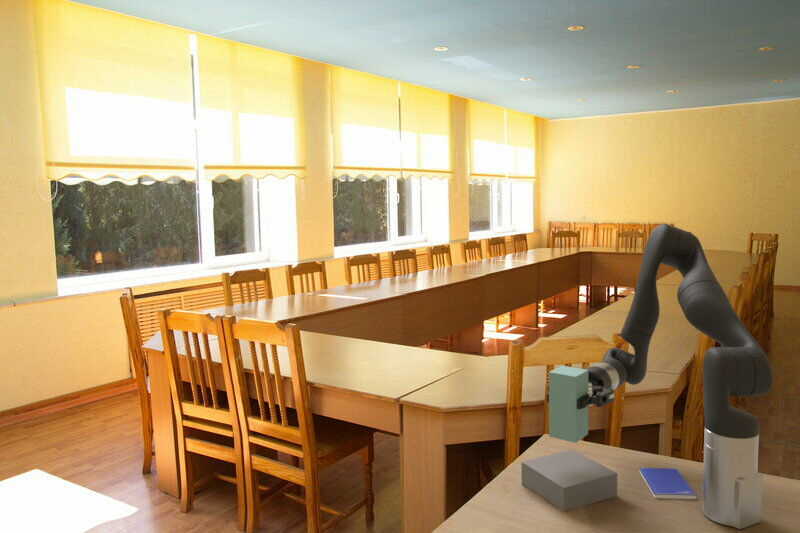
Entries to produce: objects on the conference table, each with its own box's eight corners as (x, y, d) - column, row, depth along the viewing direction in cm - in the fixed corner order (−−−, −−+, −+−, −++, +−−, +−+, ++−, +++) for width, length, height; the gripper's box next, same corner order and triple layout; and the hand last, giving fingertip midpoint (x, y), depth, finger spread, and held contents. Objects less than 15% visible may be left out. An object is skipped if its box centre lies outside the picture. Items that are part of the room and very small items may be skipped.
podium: (617, 496, 132) (617, 473, 131) (563, 511, 126) (563, 487, 125) (572, 470, 144) (572, 449, 144) (521, 483, 138) (521, 461, 138)
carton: (588, 434, 135) (588, 370, 133) (575, 442, 130) (575, 376, 128) (561, 427, 138) (561, 365, 137) (549, 436, 134) (548, 372, 132)
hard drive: (696, 494, 129) (677, 468, 142) (655, 493, 130) (639, 467, 142) (696, 501, 129) (677, 475, 142) (654, 500, 130) (639, 474, 143)
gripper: (567, 361, 148) (532, 378, 136) (628, 370, 139) (596, 390, 126) (567, 392, 149) (532, 412, 136) (627, 403, 140) (596, 426, 127)
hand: (563, 401), depth 131 cm, fingers closed on carton, 6 cm apart
